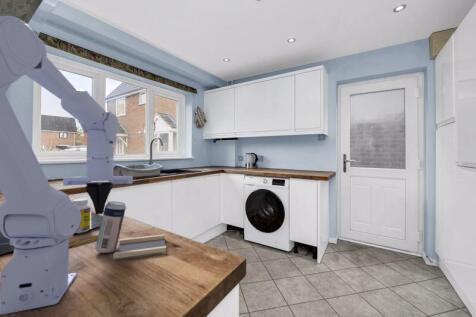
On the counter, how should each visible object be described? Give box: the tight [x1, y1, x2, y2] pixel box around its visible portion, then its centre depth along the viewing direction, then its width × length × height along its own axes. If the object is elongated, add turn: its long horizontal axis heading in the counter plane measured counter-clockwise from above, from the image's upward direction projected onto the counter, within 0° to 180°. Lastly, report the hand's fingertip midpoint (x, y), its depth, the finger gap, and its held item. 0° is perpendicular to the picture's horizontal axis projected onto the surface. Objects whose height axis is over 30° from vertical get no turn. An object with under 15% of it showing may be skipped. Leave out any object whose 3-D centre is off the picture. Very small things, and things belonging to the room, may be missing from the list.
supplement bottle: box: [72, 198, 92, 234], centre depth 69 cm, size 6×6×10 cm
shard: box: [69, 235, 98, 248], centre depth 59 cm, size 11×8×2 cm
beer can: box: [94, 200, 127, 254], centre depth 55 cm, size 5×5×12 cm
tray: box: [112, 234, 167, 262], centre depth 56 cm, size 10×12×2 cm
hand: (99, 213), depth 54 cm, fingers closed
